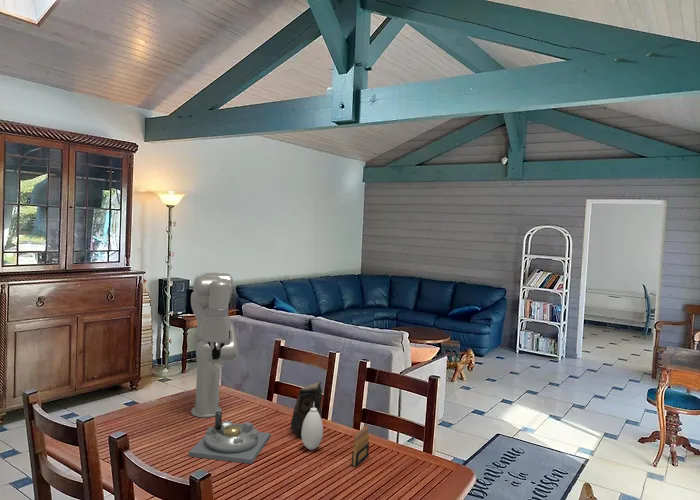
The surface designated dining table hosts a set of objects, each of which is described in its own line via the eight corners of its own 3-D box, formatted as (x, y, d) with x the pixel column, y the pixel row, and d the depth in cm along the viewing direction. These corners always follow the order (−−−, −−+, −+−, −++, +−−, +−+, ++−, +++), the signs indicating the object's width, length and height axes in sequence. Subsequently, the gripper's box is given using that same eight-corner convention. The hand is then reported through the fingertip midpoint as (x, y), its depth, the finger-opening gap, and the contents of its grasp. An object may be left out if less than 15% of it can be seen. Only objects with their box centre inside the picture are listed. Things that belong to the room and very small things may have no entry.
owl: (320, 427, 209) (323, 379, 208) (323, 439, 196) (326, 389, 196) (290, 426, 207) (293, 379, 206) (290, 439, 195) (293, 389, 194)
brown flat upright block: (355, 467, 175) (358, 433, 175) (351, 466, 176) (353, 432, 176) (368, 456, 185) (370, 424, 184) (364, 454, 186) (366, 422, 185)
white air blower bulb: (309, 442, 193) (312, 396, 193) (325, 448, 189) (328, 401, 188) (296, 449, 187) (299, 401, 186) (312, 455, 182) (315, 406, 182)
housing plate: (214, 430, 199) (214, 426, 199) (270, 437, 196) (270, 432, 196) (188, 456, 176) (188, 451, 176) (251, 463, 173) (251, 459, 173)
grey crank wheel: (268, 440, 189) (269, 416, 189) (231, 458, 173) (233, 432, 172) (232, 426, 199) (233, 404, 199) (194, 442, 183) (195, 418, 182)
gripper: (195, 312, 193) (193, 359, 194) (233, 315, 191) (230, 363, 192) (203, 309, 200) (201, 354, 201) (239, 312, 199) (237, 358, 199)
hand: (215, 358), depth 197 cm, fingers closed
